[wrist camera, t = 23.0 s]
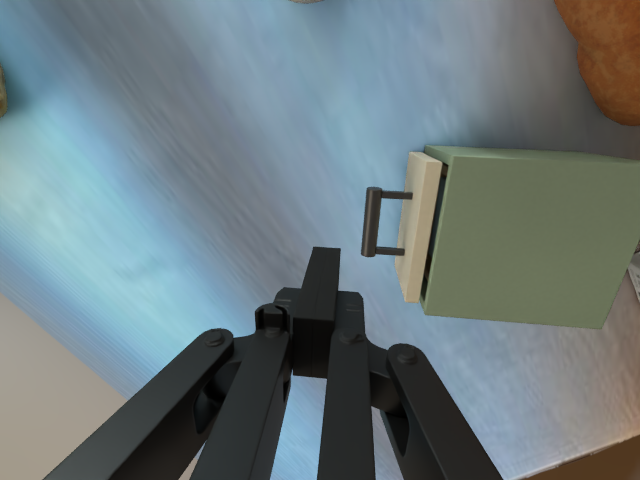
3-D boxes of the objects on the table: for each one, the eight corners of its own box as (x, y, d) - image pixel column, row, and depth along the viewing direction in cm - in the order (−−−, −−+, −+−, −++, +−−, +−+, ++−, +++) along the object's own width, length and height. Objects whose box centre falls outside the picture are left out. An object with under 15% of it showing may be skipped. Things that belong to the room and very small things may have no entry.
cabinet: (407, 267, 37) (424, 315, 28) (425, 145, 32) (453, 155, 23) (539, 276, 36) (601, 329, 27) (578, 151, 31) (672, 165, 22)
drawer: (357, 262, 36) (359, 298, 29) (367, 149, 32) (371, 158, 24) (519, 273, 35) (563, 314, 28) (552, 157, 30) (616, 170, 23)
